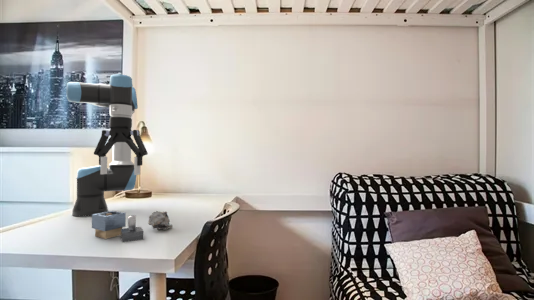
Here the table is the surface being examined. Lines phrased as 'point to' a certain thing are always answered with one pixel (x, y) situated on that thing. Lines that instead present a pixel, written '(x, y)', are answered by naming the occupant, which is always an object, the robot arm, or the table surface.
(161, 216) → the mineral specimen
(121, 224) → the collar
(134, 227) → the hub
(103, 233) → the stand
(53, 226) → the table surface
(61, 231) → the table surface
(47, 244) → the table surface
